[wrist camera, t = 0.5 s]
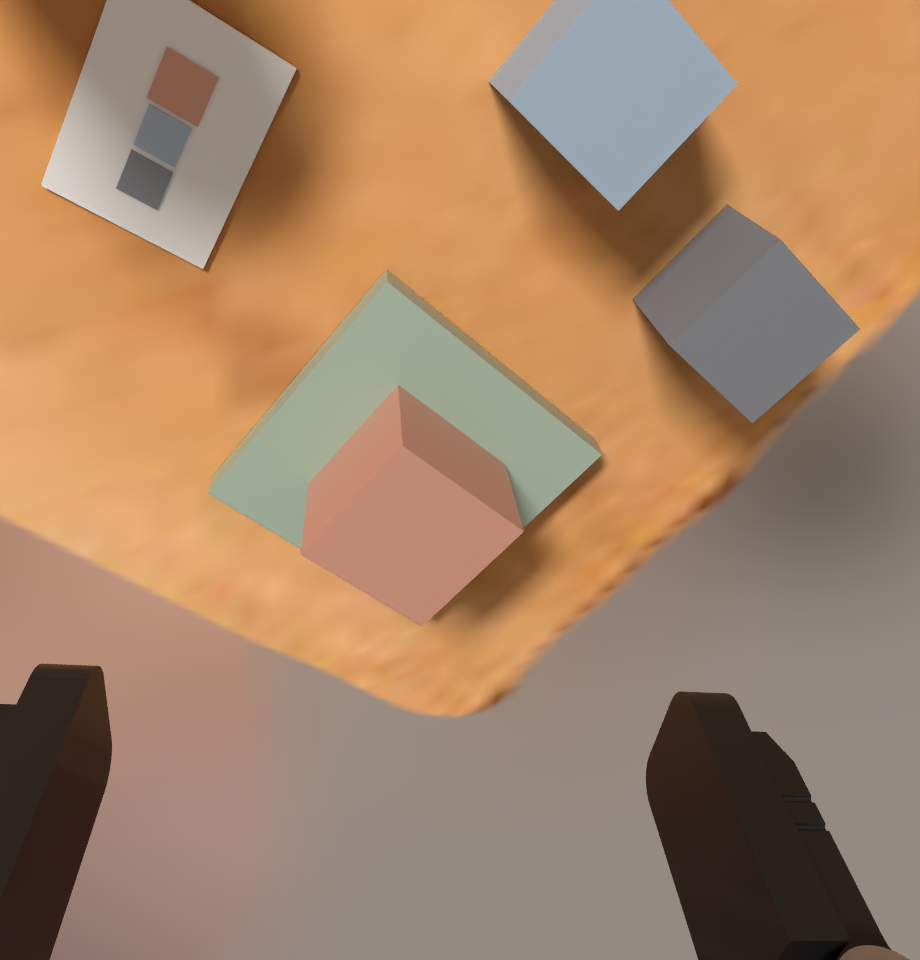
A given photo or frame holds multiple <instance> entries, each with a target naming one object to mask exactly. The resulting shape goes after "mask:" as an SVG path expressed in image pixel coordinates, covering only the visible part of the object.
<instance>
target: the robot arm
mask: <svg viewBox="0 0 920 960" xmlns="http://www.w3.org/2000/svg"><path fill="white" fill-rule="evenodd" d="M111 755H112V739H111V731H110V724H109V716H108V707H107V699H106V691H105V683H104V675H103V671H102V669H101V667H100V666H86V665H61V664H39V665H38V666H37V667H36V668H35V669H34V670H33V672H32V674H31V675H30V677H29V679H28V682H27V684H26V686H25V688H24V690H23V692H22V694H21V696H20V698H19V700H18V702H17V704H16V705H11V704H0V960H50V956H51V954H52V951H53V947H54V944H55V941H56V938H57V935H58V932H59V929H60V926H61V923H62V920H63V917H64V914H65V911H66V908H67V905H68V902H69V899H70V896H71V893H72V889H73V886H74V883H75V880H76V877H77V874H78V871H79V868H80V865H81V862H82V859H83V856H84V853H85V850H86V847H87V844H88V841H89V838H90V835H91V831H92V828H93V825H94V822H95V819H96V816H97V813H98V810H99V807H100V804H101V801H102V798H103V795H104V792H105V788H106V785H107V781H108V776H109V771H110V764H111ZM646 788H647V795H648V800H649V804H650V807H651V810H652V813H653V816H654V820H655V823H656V826H657V829H658V832H659V836H660V839H661V842H662V845H663V848H664V851H665V855H666V858H667V861H668V864H669V868H670V870H671V874H672V877H673V880H674V883H675V887H676V890H677V893H678V896H679V899H680V903H681V906H682V909H683V912H684V915H685V919H686V921H687V925H688V928H689V931H690V934H691V938H692V941H693V944H694V947H695V950H696V954H697V957H698V960H909V959H907V958H906V957H905V956H903V955H900V954H899V953H897V952H895V951H892V950H891V949H890V948H889V946H888V945H887V943H886V942H885V940H884V938H883V936H882V934H881V932H880V931H879V928H878V926H877V924H876V923H875V921H874V919H873V917H872V915H871V913H870V911H869V909H868V907H867V905H866V903H865V901H864V899H863V897H862V895H861V893H860V892H859V889H858V888H857V885H856V883H855V881H854V879H853V877H852V875H851V874H850V872H849V869H848V867H847V866H846V864H845V861H844V860H843V858H842V856H841V854H840V852H839V850H838V848H837V846H836V844H835V842H834V840H833V838H832V836H831V834H830V832H829V831H826V829H825V822H824V820H823V818H822V816H821V814H820V812H819V810H818V808H817V807H816V804H815V803H812V802H811V794H810V793H809V791H808V788H807V787H806V785H805V783H804V781H803V779H802V777H801V775H800V773H799V771H798V769H797V767H796V765H795V763H794V761H793V760H792V759H791V758H790V757H789V756H788V755H787V754H786V753H785V752H784V751H783V750H782V749H781V748H780V747H779V746H778V744H777V743H776V742H775V741H774V740H773V739H772V738H771V737H770V736H769V735H768V734H767V733H766V732H751V730H750V728H749V726H748V724H747V722H746V719H745V717H744V715H743V713H742V711H741V709H740V707H739V705H738V703H737V701H736V700H735V698H734V697H733V696H731V695H730V694H725V693H701V692H700V693H699V692H678V693H676V694H675V695H674V697H673V699H672V701H671V703H670V705H669V708H668V711H667V713H666V715H665V718H664V721H663V723H662V725H661V728H660V730H659V733H658V736H657V738H656V741H655V743H654V745H653V748H652V750H651V753H650V756H649V759H648V762H647V769H646Z"/></svg>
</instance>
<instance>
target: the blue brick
mask: <svg viewBox="0 0 920 960" xmlns="http://www.w3.org/2000/svg"><path fill="white" fill-rule="evenodd" d="M489 82H490V83H491V84H492V85H493V86H494V87H495V88H496V89H497V90H498V91H499V92H500V93H501V94H502V95H503V96H504V97H505V98H506V99H507V100H508V101H509V102H510V103H511V104H512V105H513V106H514V107H515V109H516V110H517V111H518V112H519V113H520V114H521V115H522V116H523V117H524V118H525V119H526V120H527V121H528V122H529V123H530V124H531V125H532V126H533V127H534V128H535V129H536V130H537V131H538V132H539V133H540V134H541V135H542V136H543V137H544V138H545V139H546V140H547V141H548V142H549V143H550V144H551V145H552V146H553V147H554V148H555V149H556V150H557V151H558V152H559V153H560V154H561V155H562V156H563V157H564V158H565V159H566V160H567V161H568V162H569V163H570V164H571V165H572V166H573V167H574V168H575V169H576V170H577V171H578V172H579V173H580V174H581V175H582V176H583V177H584V178H585V179H586V180H587V181H588V182H589V183H590V184H591V185H592V186H593V187H594V188H595V189H596V190H597V191H598V192H599V193H600V194H601V195H602V196H603V197H605V198H606V199H607V200H608V201H609V202H610V203H611V204H612V205H613V206H614V207H615V208H616V209H617V210H618V211H619V210H620V209H621V208H622V207H623V206H624V205H625V204H626V202H627V201H628V200H629V199H630V198H631V197H632V196H633V195H634V194H635V193H636V192H637V191H638V190H639V189H640V188H641V187H642V186H643V184H644V183H645V182H646V181H647V180H648V179H649V178H650V177H651V176H652V175H653V174H654V173H655V172H656V171H657V170H658V169H659V167H660V166H661V165H662V164H663V163H664V162H665V161H666V160H667V159H668V158H669V157H670V156H671V155H672V154H673V153H674V152H675V150H676V149H677V148H678V147H679V146H680V145H681V144H682V143H683V142H684V141H685V140H686V139H687V138H688V137H689V136H690V135H691V133H692V132H693V131H694V130H695V129H696V128H697V127H698V126H699V125H700V124H701V123H702V122H703V121H704V120H705V119H706V118H707V116H708V115H709V114H710V113H711V112H712V111H713V110H714V109H715V108H716V107H717V106H718V105H719V104H720V103H721V102H722V101H723V100H724V98H725V97H726V96H727V95H728V94H729V93H730V92H731V91H732V90H733V89H734V88H735V87H736V86H737V85H738V83H737V82H736V81H735V80H734V79H733V77H732V76H731V75H730V74H729V73H728V71H727V70H726V69H725V68H724V66H723V65H722V64H721V63H720V62H719V60H718V59H717V58H716V57H715V56H714V54H713V53H712V52H711V51H710V49H709V48H708V47H707V46H706V45H705V43H704V42H703V41H702V40H701V39H700V37H699V36H698V35H697V34H696V32H695V31H694V30H693V29H692V28H691V26H690V25H689V24H688V23H687V22H686V20H685V19H684V18H683V17H682V16H681V14H680V13H679V12H678V11H677V9H676V8H675V7H674V6H673V5H672V3H671V2H670V1H669V0H554V2H553V3H552V4H551V5H550V6H549V8H548V9H547V10H546V11H545V13H544V14H543V15H542V16H541V18H540V19H539V20H538V21H537V22H536V24H535V25H534V26H533V27H532V29H531V30H530V31H529V32H528V33H527V35H526V36H525V37H524V38H523V40H522V41H521V42H520V43H519V45H518V46H517V47H516V48H515V49H514V51H513V52H512V53H511V54H510V56H509V57H508V58H507V59H506V60H505V62H504V63H503V64H502V65H501V67H500V68H499V69H498V70H497V72H496V73H495V74H494V75H493V76H492V78H491V79H490V80H489Z"/></svg>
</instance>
